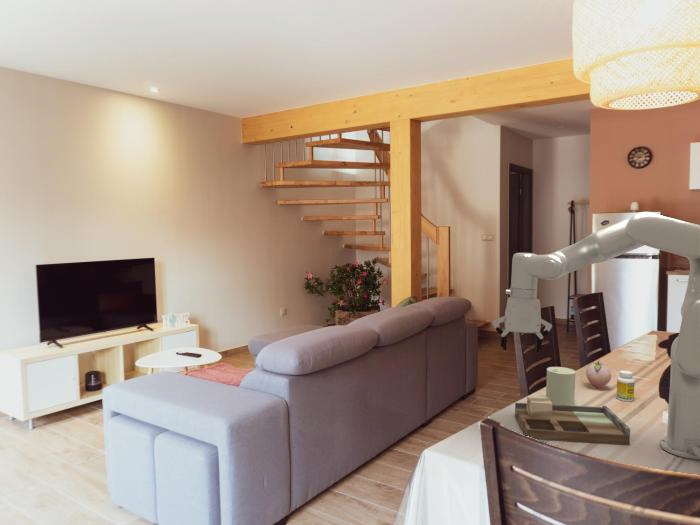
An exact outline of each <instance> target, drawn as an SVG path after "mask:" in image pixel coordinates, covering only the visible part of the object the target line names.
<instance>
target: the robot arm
mask: <svg viewBox="0 0 700 525" xmlns="http://www.w3.org/2000/svg"><path fill="white" fill-rule="evenodd" d="M643 246H646V247H649V248H653V249H657V250H659V251H662V252H667V253H670V254H673V255H677V256H679V257H680V256H681V257H682V258H683V257H684V258H687V260H688V261H689V273H688V279H687V280H688V281H687V285H686V290H685V294H684V298H683V301H682V304H681V308H680V314H681V323H680V328H679V332H678V335H677V336H676V337H675V338H674V340H673V341H672V344H671V347H670V375H669V376H670V377H669V394H668V413H667V427H666V431H667V432H666V437H663V438H660V441H659V446H660V448H661V449H663V450H664V451H666V452H668V453H670V454H673V455H675V456H677V457H681V458H686V459H689V460H698V461H699V460H700V224H697V223H693V222H688V221H684V220H681V219H677V218H673V217H668V216H665V215H662V214H658V213H655V212H652V211H641V212H637V213H636V214H634V215H632V216H630V217H627V218H625V219H623V220H621V221H618V222H616V223H614V224H611V225H609V226H607V227H605V228H602V229H600V230H597V231H595V232H592V233H591V234H588V236H585V237H584V238H583V239H581V240H580V241H578V242H575V243H573V244H571V245H568V246H566V247H564V248H561V249H559V250H556V251H553V252H551V253H548V254H536V253H532V252H516V253H514V254H513V256H512V260H511V261H512V262H511V278H510V279H511V281H510V288H508V289H505V294H506V295H509V297H508V298H507V301H506V304H505V305H506V306H505V312H504V316H500V317H498V318H497V319H495V320H494V319H493V320H492V325H493V327H494V329H495V331H496V332H497V333H498V334H499V335H500V347H501V348H502V350H503V351H506V350H507V343H508V342H507V340H508V339H507V338H508V337H507V335H508V334H509V333H510V332H511V333H522V334H523V333H525V334H535V340H534V341H535V342H534V350H535V352H536V353H540V350H542V346H543V344H542V343H543V339H544V338H545V337H546V336H547V335H549V332H550V331H551V329H552V328H553V325H552V324H551V322H548V321H547V320H545V319H542V316H541V315H542V313H541V310H542V309H541V302H540V301H541V300H540V299H538V298H537V297H538V280H539V279H541V280H547V281H554V280H558V279H559V278H561V277H563V276H565V275H568V274H570V273H573V272H575V271H577V270H580V269H583V268H586V267H587V266H591V265H594V264H599V263H603V262H606V261H608V260H609V261H610V260H612V259H614V258H617V257H619V256H621V255H624V254H626V253H629V252H632V251H634V250H637V249H638V248H642V247H643ZM501 323H503V326H504V327H503V329H501V328H500V326H499V324H501ZM542 325H543V326H545V328H544V329H543V330H542V329H541V328H542ZM541 330H542V331H541Z"/></svg>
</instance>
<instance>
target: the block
mask: <svg viewBox="0 0 700 525" xmlns="http://www.w3.org/2000/svg"><path fill="white" fill-rule="evenodd" d="M526 403H527V412H528V414H529V415H530V417H533V418H551V419H552V403H551V401H550V400H549V399H548V397H546V396H533V395H532V396H530V395H528V396H526Z"/></svg>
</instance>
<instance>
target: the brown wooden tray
mask: <svg viewBox="0 0 700 525" xmlns="http://www.w3.org/2000/svg"><path fill="white" fill-rule="evenodd" d="M514 404H515V406H514V407H515V408H514V417H515V419H516V420H517V422H518V423H519V426H520V428H521V430H522V432H523V433H524V436H525V437H526V436H529V437H532V438H535V439H534V440H541V441H556V442H557V441H559V442H576V443H592V444H593V443H594V444H609V445H627V446H628V445H629V446H630V445H631V444H630V441H631V428H630V427H629V426H628V425H627V424H626V423H625V422H624V421H623V420H622V419H621V418H620V417H618V415H616V414H615V413H614V411H612V410H611V408H609V407H608V406H607V405H602V406H590V405H589V406H585V405H575V406H570V405H552V419H551V418H533V417H530V415H529V414H528V412H527V402H515V403H514Z"/></svg>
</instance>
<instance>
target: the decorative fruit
mask: <svg viewBox="0 0 700 525" xmlns="http://www.w3.org/2000/svg"><path fill="white" fill-rule="evenodd" d="M585 372H586V373H585V374H586V378H587V381H588V382H589V383H590V384H591V386H592V387H594V388H595V389H598V388H601V387H605V386H606V385H608V384H609V382H611V379H612V373H611V371H610V369H609V368H608V366H606V365H603V364H602V363H600V361H597V362H595V363H592V364H590V365H589V366H588V367H587V368H586V371H585Z"/></svg>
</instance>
